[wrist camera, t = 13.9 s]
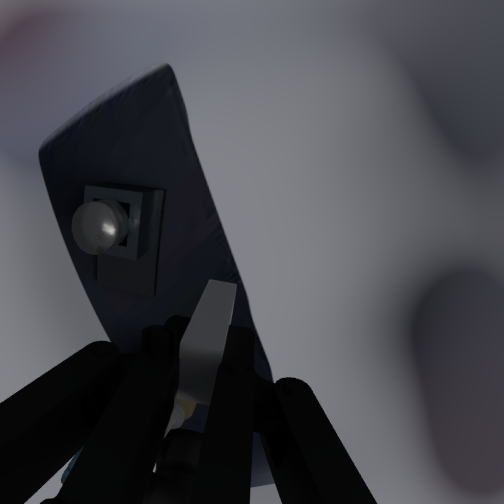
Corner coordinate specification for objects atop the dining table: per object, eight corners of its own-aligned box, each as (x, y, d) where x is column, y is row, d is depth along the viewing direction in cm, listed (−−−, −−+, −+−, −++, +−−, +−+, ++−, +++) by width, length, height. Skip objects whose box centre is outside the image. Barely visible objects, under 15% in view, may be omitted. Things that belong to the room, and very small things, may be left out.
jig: (155, 294, 45) (139, 314, 38) (100, 281, 45) (78, 297, 38) (166, 189, 41) (148, 193, 34) (105, 181, 41) (80, 184, 34)
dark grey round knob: (146, 238, 42) (113, 258, 31) (110, 233, 42) (72, 251, 32) (149, 196, 40) (114, 204, 30) (112, 193, 40) (72, 200, 30)
